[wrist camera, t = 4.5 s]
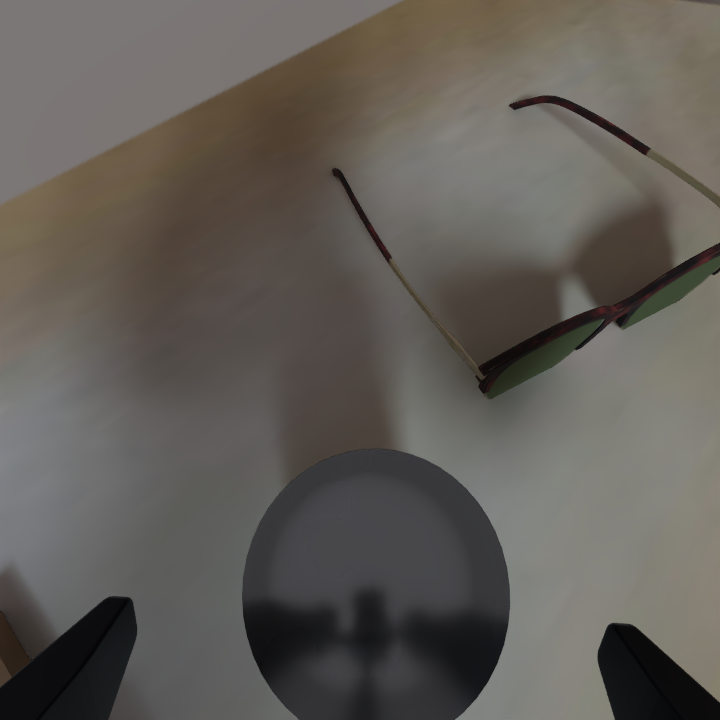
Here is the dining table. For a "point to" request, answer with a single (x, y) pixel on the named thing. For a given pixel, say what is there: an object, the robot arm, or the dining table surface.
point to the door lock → (10, 652)
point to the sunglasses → (585, 326)
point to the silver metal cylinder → (376, 591)
